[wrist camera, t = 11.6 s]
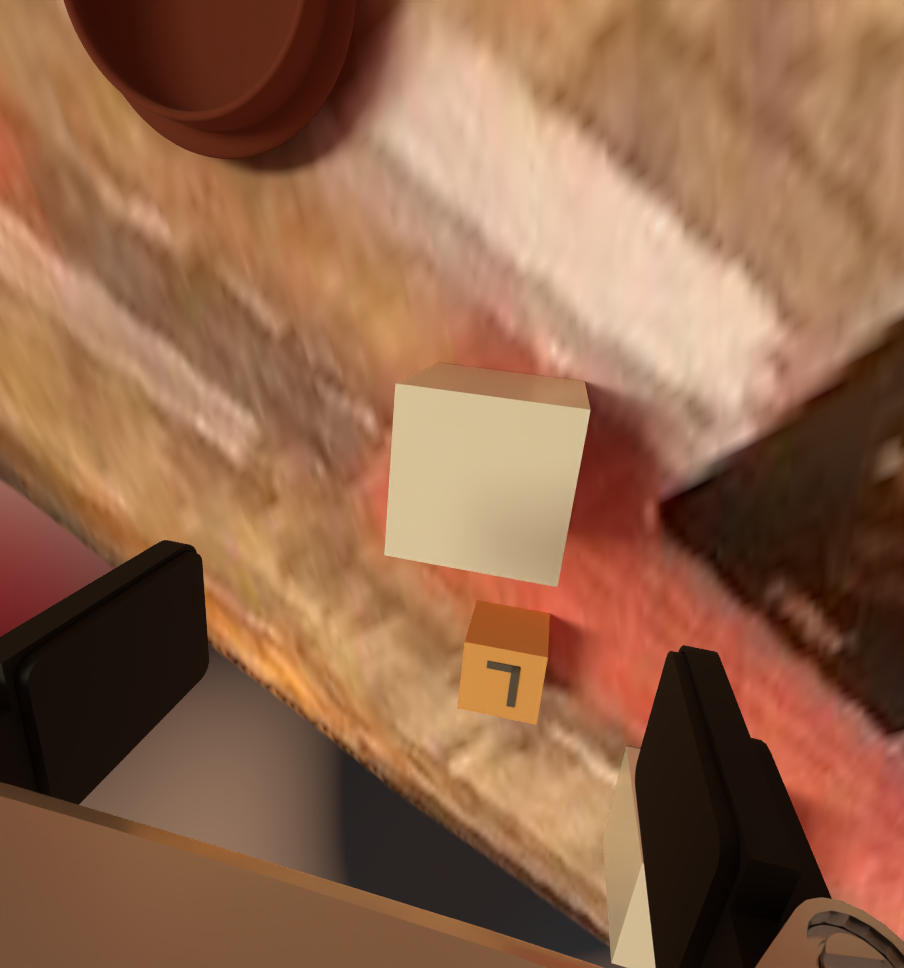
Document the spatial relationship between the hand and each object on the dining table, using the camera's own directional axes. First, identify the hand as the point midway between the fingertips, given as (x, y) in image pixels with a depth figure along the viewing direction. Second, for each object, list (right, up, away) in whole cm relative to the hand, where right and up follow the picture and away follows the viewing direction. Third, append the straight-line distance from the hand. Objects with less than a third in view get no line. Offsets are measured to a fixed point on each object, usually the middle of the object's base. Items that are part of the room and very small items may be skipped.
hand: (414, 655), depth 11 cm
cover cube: (+3, +5, +16) cm, 18 cm away
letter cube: (+4, -5, +20) cm, 21 cm away
